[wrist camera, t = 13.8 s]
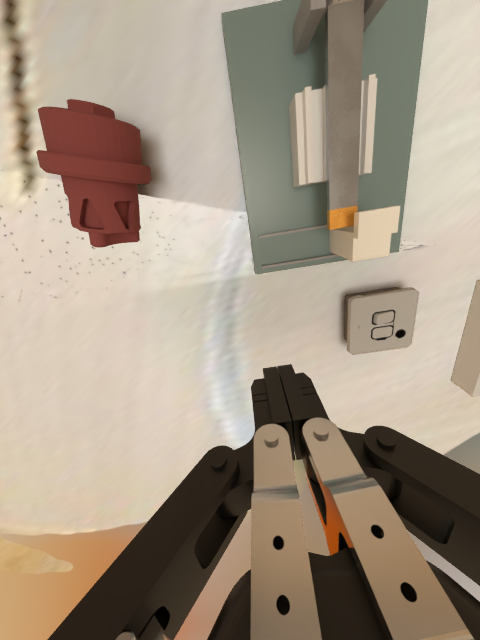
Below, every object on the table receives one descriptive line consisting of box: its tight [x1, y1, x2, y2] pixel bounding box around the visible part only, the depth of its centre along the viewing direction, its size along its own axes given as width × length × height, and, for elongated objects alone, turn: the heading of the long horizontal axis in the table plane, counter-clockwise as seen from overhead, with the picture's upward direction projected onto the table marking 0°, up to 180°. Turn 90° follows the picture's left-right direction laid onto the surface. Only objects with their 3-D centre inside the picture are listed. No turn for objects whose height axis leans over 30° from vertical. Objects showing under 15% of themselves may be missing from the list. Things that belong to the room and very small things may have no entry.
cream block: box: [329, 206, 400, 261], centre depth 28 cm, size 5×4×8 cm
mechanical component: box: [37, 99, 151, 247], centre depth 25 cm, size 12×10×10 cm
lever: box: [323, 0, 366, 230], centre depth 23 cm, size 22×3×2 cm, turn 9°
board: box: [222, 0, 428, 274], centre depth 26 cm, size 26×20×7 cm
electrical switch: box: [344, 288, 419, 355], centre depth 36 cm, size 9×5×9 cm
